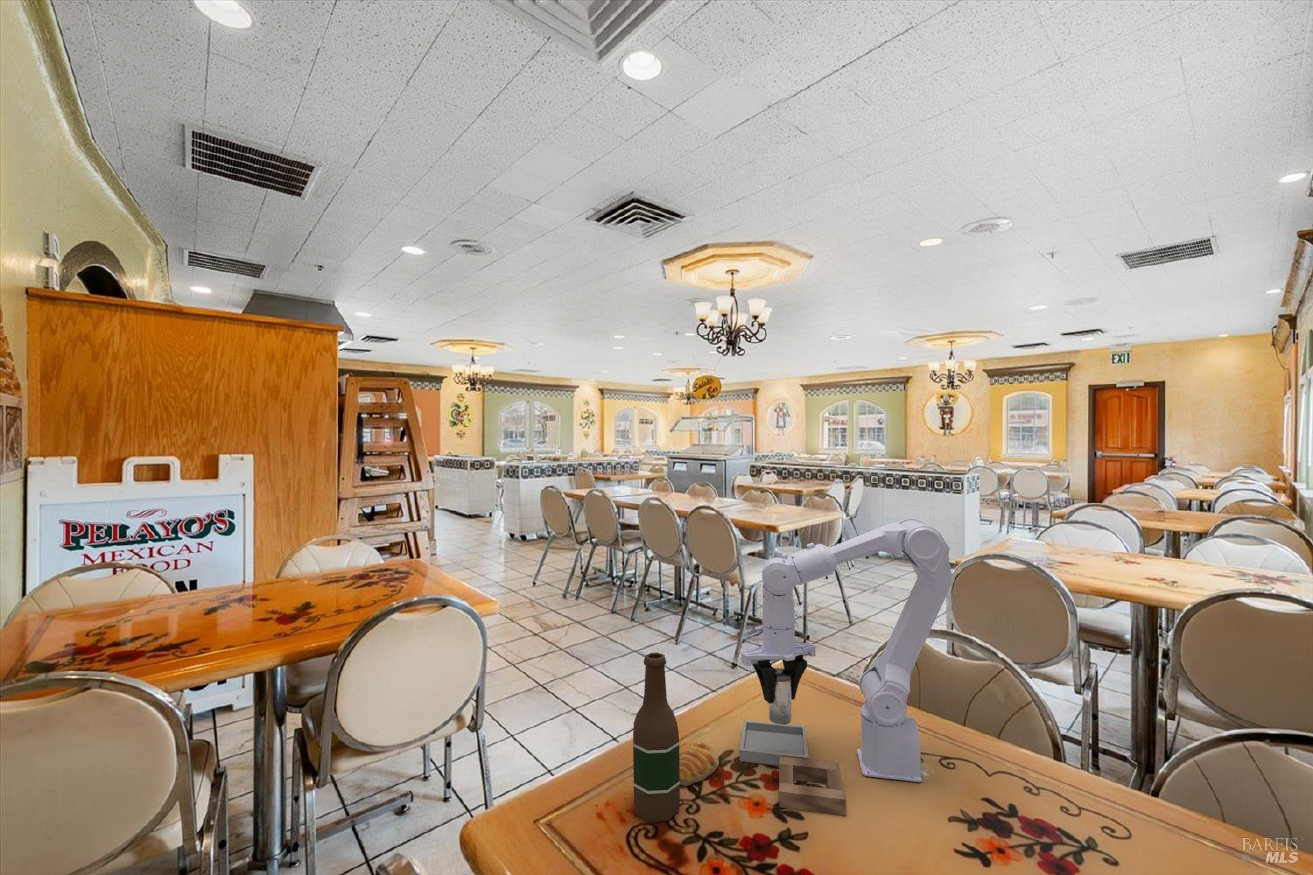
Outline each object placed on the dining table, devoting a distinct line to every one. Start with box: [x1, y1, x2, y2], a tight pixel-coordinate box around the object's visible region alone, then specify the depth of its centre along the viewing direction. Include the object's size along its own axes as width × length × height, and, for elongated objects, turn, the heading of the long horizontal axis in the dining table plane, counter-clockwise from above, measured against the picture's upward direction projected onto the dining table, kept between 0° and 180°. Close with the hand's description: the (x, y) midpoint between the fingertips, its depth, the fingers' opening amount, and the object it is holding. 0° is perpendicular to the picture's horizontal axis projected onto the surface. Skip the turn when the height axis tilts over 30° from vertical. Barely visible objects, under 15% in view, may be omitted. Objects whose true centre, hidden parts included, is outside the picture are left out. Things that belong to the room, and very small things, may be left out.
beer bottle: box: [632, 652, 681, 823], centre depth 87 cm, size 8×8×24 cm
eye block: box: [778, 756, 847, 817], centre depth 91 cm, size 10×10×2 cm
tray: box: [739, 720, 809, 767], centre depth 104 cm, size 12×11×2 cm
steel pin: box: [768, 667, 792, 725], centre depth 101 cm, size 4×4×8 cm
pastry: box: [679, 741, 720, 787], centre depth 96 cm, size 9×7×4 cm
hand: (779, 699), depth 101 cm, fingers closed on steel pin, 4 cm apart
